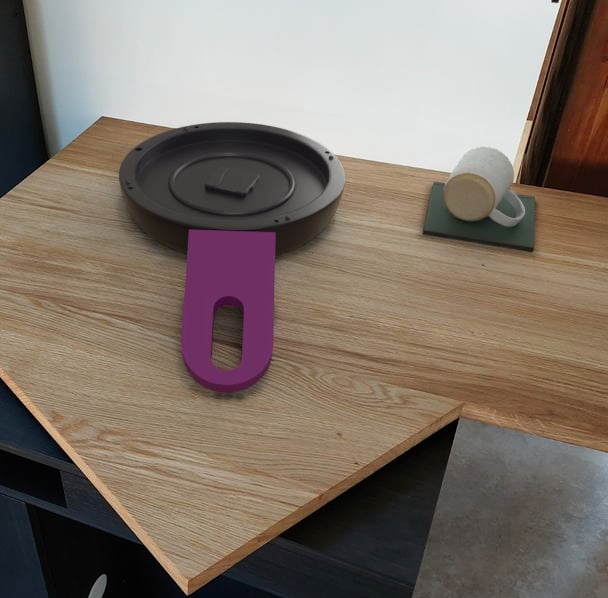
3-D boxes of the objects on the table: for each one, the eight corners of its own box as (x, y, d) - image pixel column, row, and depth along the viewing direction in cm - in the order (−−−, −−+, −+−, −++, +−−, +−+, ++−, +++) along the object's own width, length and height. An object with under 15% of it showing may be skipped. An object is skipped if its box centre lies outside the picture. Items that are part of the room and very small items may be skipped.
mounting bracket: (268, 415, 85) (272, 271, 92) (272, 386, 77) (276, 232, 84) (182, 411, 86) (192, 268, 92) (177, 382, 78) (189, 229, 84)
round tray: (363, 178, 114) (176, 143, 122) (369, 139, 110) (174, 105, 117) (303, 289, 93) (81, 238, 101) (307, 246, 89) (76, 197, 97)
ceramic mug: (434, 216, 105) (446, 163, 99) (452, 190, 110) (465, 139, 105) (513, 239, 101) (530, 185, 96) (528, 211, 106) (545, 159, 101)
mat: (533, 200, 110) (535, 196, 109) (532, 252, 100) (534, 247, 99) (433, 185, 112) (434, 181, 112) (422, 234, 103) (423, 230, 102)
